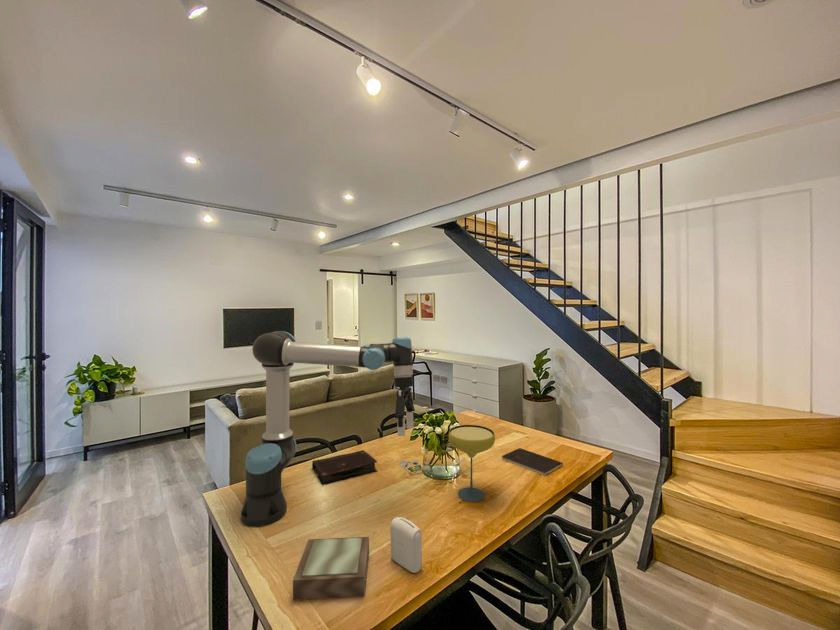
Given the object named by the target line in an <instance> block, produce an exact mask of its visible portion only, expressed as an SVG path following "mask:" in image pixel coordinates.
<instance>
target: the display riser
mask: <svg viewBox="0 0 840 630" xmlns="http://www.w3.org/2000/svg"><path fill="white" fill-rule="evenodd" d="M369 556H370V536H357V537H356V536H355V537H354V536H353V537H335V538H334V537H333V538H331V537H330V538H314V539H313V538H311V539H310V538H309V539H307V541H306V545H305V547H304V549H303V553H302V555H301V557H300V561H299V563H298V566H297V568H296V572H295V574H294V577H293V579H292V600H293V601H295V600H296V599H297V600H299V601H300V600H314V599H329V598H330V599H331V598H332V599H333V598H348V597H349V598H352V597H363V596H365V595H366V585H367V576H368V568H369V558H370V557H369ZM294 599H295V600H294Z"/></svg>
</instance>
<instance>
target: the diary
mask: <svg viewBox="0 0 840 630" xmlns="http://www.w3.org/2000/svg"><path fill="white" fill-rule="evenodd" d="M376 463H378V461H377V459H375V458H374V457H373V456H372V455H371V454H369V453H368V452H367V451H366V450H364V449H363V450H359V451H355V452H349V453H345V454H339V455H336V456H335V455H334V456H331V457H326V458H321V459H316V460H312V464H311V465H312V467H311V468H312V470H315V472H316V473H317V475H316V477H317V479H318V480H319V482H320V483H321V485H324V486H325V485H328V484H333V483H337V482H338V483H339V482H342V481H345V480H346V481H347V480H348V479H354V478H357V477H360V476H363V475H369V474H373V473H377V472H378V470H377V469H376Z"/></svg>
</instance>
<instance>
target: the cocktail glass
mask: <svg viewBox="0 0 840 630" xmlns="http://www.w3.org/2000/svg"><path fill="white" fill-rule="evenodd" d="M448 441H449V443H450V445H452V447H454V448H455V449H457V450H458V451H461V452H462V453H465V454H466V455H467V456H468V457H469V458H470V483H469V485H470V486H467V487H462V488H460V489H459V490H458V491H457V496H458V498H459V499H461V500H463V501H464V502H469V503H477V502H478V503H479V502H481V501H484V499H485V498H486V493H485V491H484V490H482V489H480V488H478V487H474V485H473V484H474V483H473V458H474V457H476V456H477V454H480V453H483V452H486V451H488V450H490V449H491V448H492V447H493V446H494V444H495V442H496V435H495V432H494V430H492V429H490V428H489V427H486V426H482V425H477V424H461V425H457V426H453V427H452V428H450V429H449V431H448Z"/></svg>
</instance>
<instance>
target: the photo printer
mask: <svg viewBox="0 0 840 630" xmlns="http://www.w3.org/2000/svg"><path fill="white" fill-rule="evenodd" d="M422 536H423V535H422V530H421V529H420V528H419V527H418V526H417V525H416V524H415V523H413V522H412V521H410V520H409V519H407V518H404V517H399V516H396V517H394V518H393V519H392V520H391V523H390V557H391V559H392V560H393V561H394V562H395V563H397V564H399V566H401V567H403V568H404V569H405V570H407V571H409V572H410V573H414V574H415V573H419V572H420V571H421V568H422V565H423V560H422V559H423V556H422V555H423V554H422V553H423V552H422V549H423V547H422V546H423V545H422V543H423V542H422V541H423V539H422Z"/></svg>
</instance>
